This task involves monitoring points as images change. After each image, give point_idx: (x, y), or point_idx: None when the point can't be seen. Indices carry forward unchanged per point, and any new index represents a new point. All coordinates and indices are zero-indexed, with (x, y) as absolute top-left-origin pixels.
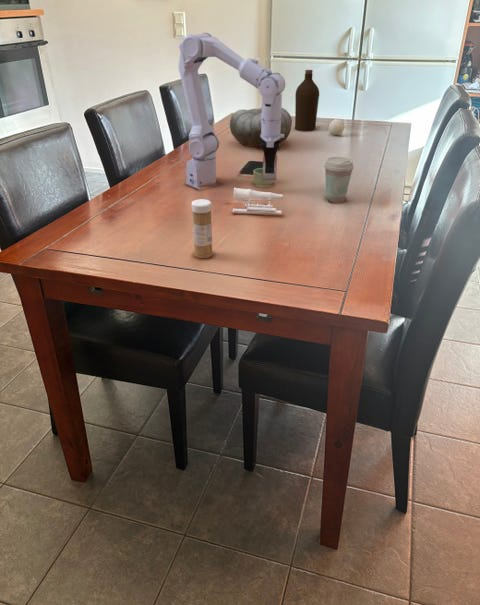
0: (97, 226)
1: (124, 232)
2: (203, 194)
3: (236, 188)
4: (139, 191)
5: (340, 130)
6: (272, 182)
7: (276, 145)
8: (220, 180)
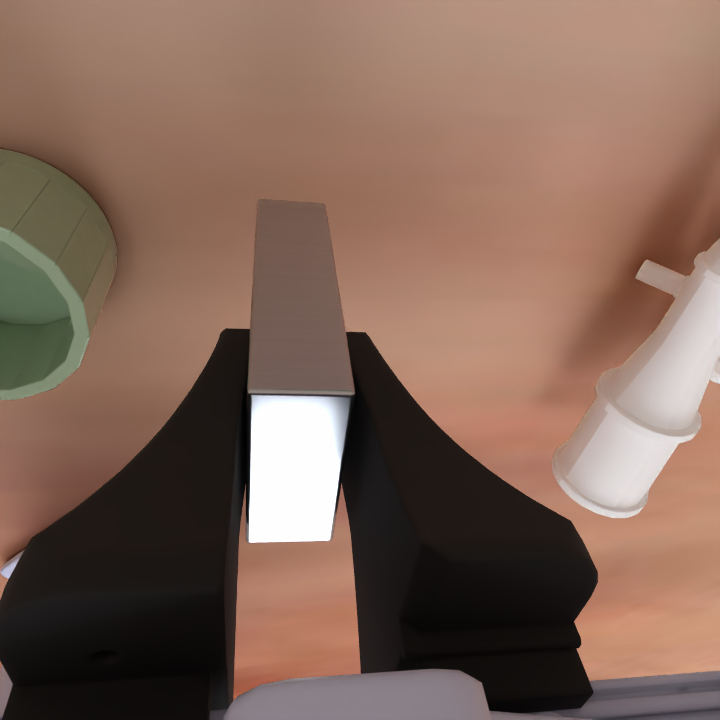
0: None
1: (660, 653)
2: (302, 545)
3: (619, 504)
4: None
5: None
6: (20, 168)
7: (568, 596)
8: (15, 507)
